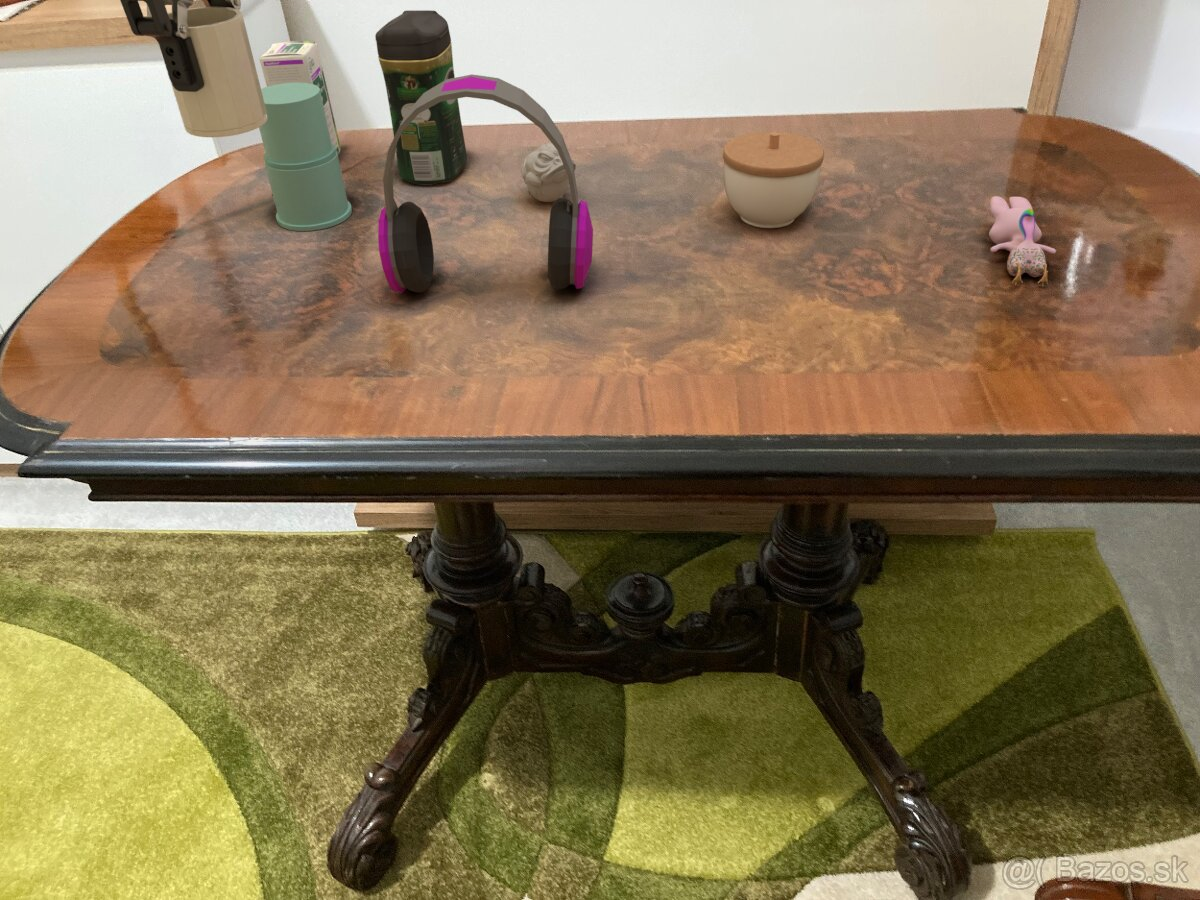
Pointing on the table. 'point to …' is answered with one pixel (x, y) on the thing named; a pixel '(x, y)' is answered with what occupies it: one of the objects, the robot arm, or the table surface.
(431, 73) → the coffee jar
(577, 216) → the headphones
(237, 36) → the cream cup
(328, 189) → the cup stack
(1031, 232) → the rabbit figure
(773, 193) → the lidded sugar bowl
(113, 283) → the table surface
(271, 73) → the syrup box
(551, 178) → the frog figurine
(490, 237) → the table surface
